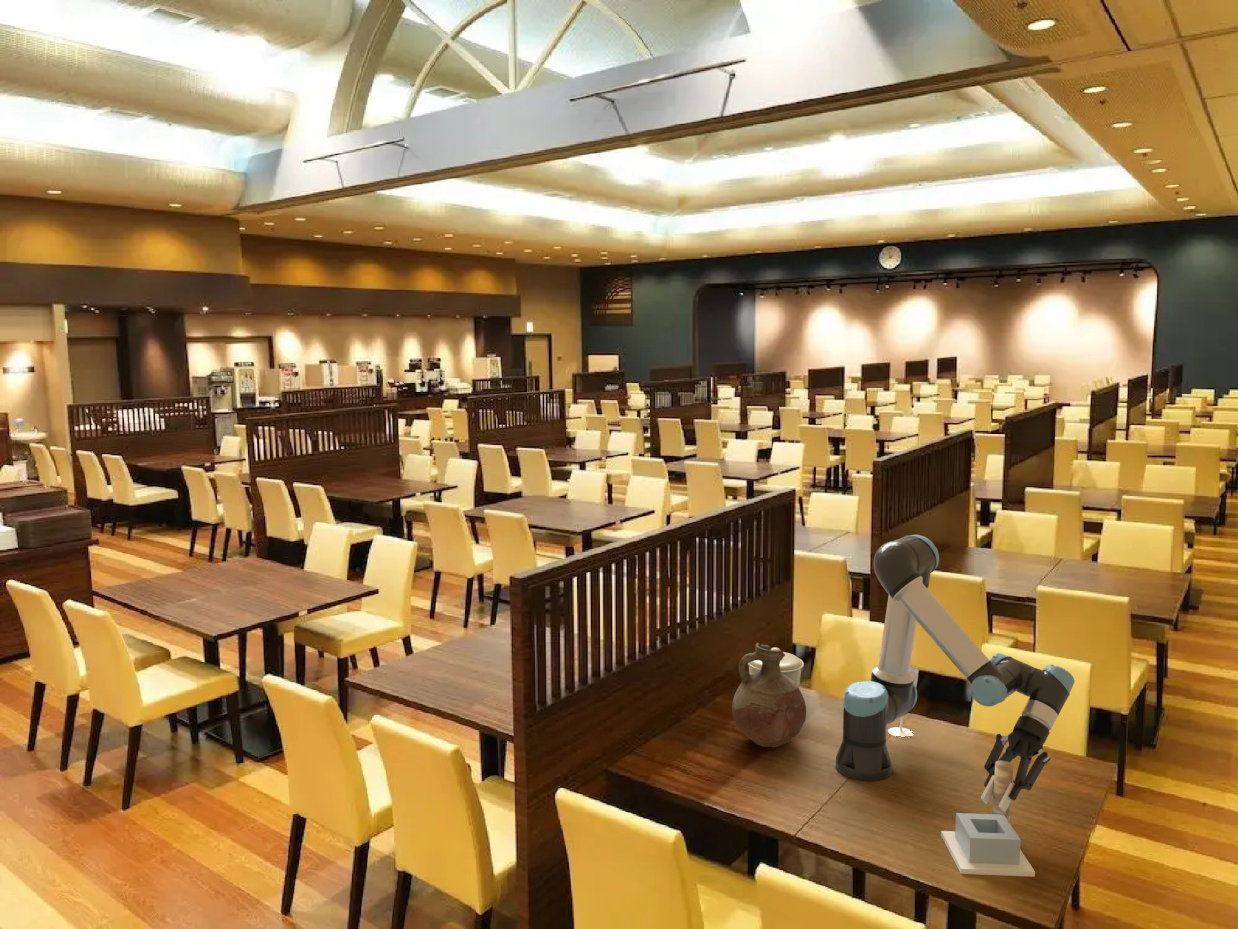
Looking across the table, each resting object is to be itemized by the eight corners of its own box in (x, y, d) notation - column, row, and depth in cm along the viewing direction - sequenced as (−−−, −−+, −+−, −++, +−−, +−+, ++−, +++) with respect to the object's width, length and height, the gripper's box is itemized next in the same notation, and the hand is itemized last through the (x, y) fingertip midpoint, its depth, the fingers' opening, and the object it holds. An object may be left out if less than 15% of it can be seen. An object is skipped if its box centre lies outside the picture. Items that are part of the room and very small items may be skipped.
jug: (818, 753, 262) (821, 653, 258) (750, 763, 256) (752, 661, 252) (784, 723, 282) (786, 630, 278) (720, 732, 276) (721, 637, 272)
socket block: (960, 874, 202) (962, 843, 201) (941, 835, 218) (942, 807, 217) (1034, 876, 201) (1036, 846, 200) (1009, 838, 217) (1011, 809, 216)
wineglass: (891, 724, 282) (893, 662, 279) (919, 731, 276) (922, 668, 274) (882, 733, 275) (884, 670, 273) (910, 740, 270) (913, 676, 267)
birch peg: (994, 822, 218) (998, 768, 216) (989, 814, 222) (993, 760, 220) (1011, 823, 218) (1015, 768, 216) (1006, 814, 222) (1009, 761, 220)
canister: (813, 710, 293) (815, 647, 290) (782, 727, 280) (783, 661, 277) (766, 695, 305) (767, 635, 302) (734, 711, 292) (735, 648, 289)
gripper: (1073, 743, 220) (1031, 827, 212) (1008, 719, 233) (967, 797, 226) (1063, 727, 216) (1020, 813, 209) (998, 704, 229) (955, 783, 222)
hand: (992, 805), depth 217 cm, fingers closed on birch peg, 4 cm apart
